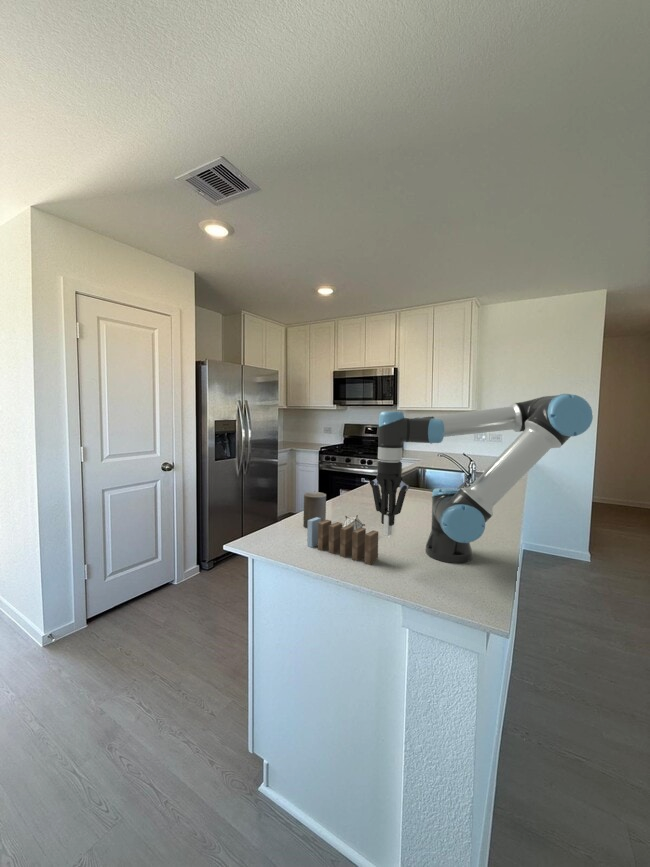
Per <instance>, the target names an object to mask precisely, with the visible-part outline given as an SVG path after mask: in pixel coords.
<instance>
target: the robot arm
mask: <svg viewBox="0 0 650 867" xmlns="http://www.w3.org/2000/svg"><path fill="white" fill-rule="evenodd" d="M404 414H405V413H404V412H403V411H392V410H390V411H386V410H384V411H381V412H380V413H379V417H378V418H379V419H378V435H377V436H378V441H377V442H378V443H377V444H378V447H377V459H378V461H377V468H376V469H377V475H376V476H375V477H376V478H375V479H373V480H369V485H370V487H371V490H372V494H373V495H372V496H373V501H374V508H375V510H376V512H378V513H380V514H381V518H380V519H381V521H380V523H381V524H382V525H383V528H382V529H383V532H382V533H383V536H384V537H390V536H391V535H392V530H393V526H394V525H395V517H396V516H397V515H399V514H401V512H402V509H403V505H404V502H405V498H406V495H407V491H408V490H409V489H410V485H409V484H406V483H405V482H404V481H403V477H402V472H403V462H402V460H403V446H404V445H403V443H417V444H419V443H421V444H430V445H431V444H441V443H442V442H443V440H444V438H446V437H455V436H456V437H457V436H464V435H475V434H482V433H485V434H486V433H493V432H501V431H503V432H504V431H511V430H513V431H514V432H515V433H518V432H519V433H520V432H521V433H520V434H519V435H518V436H517V437H516V438H515V439H514V441H512V442H511V444H509V445H508V447H507V448H505V449H504V451H503V452H502V453H501V454H500V455H499V456H498V457H497V458H496V459H495V460H494V461H493V462H492V464H490V465H489V466H488V467H487V469H485V471H484V472H482V473H481V475H480V476H479V477H477V478H476V479H475V481H473V483H472V484H471V485H470V486H469V487H461V488H453V487H436V488H434V489H432V495H431V499H432V500H431V502H432V503H431V530H430V534H429V536H428V538H427V542H426V545H425V553H426V555H427V556H429V557H430V558H432V559H434V560H436V561H441V562H445V563H450V564H451V563H452V564H453V563H454V564H455V563H456V564H460V563H467V562H469V561H471V560H472V557H473V551H472V547H471V544H470V543H473V542H475V541H477V540H478V539H479V538H481V537H482V536H483V534H484V532H485V530H486V523H487V522H488V520H490V518H492V517H493V514H494V512H493V508H494V506H495V505H496V504H497V503H499V501H500V500H502V499H503V497H505V495H506V494H507V493H508V492H509V491H510V490H512V489H513V487H514V486H515V485H516V484H517V483H518V482H520V480H521V479H522V478H523V477H524V476H525V475H526V474H527V473H528V472H529V471H530V470H531V469H532V468H533V467H534V466H535V465H537V463H538V462H539V461H540V460H541V459H542V458H543V457H544V456H545V455H546V454H547V453H548V452H549V451H550V450H551V449H556V448H561V447H562V446H563V445H564V444H565V443H566V442H567V441H568V440H569V439H570V438H571V437H577V436H580V435H583V434H584V433H585V432H586V431H587V430H588V429H589V428H590V426H591V425H592V423H593V418H594V415H593V409H592V407H591V405H590V404H589V402H588V401H587V400H586V399H584V398H583V397H581V396H579V395H576V394H571V393H560V394H557V395H547V396H545V395H544V396H541V397H537V398H533V399H529V400H525V401H524V400H523V401H521V402H512V403H511V405H510V406H506V407H496V408H489V409H480V410H472V411H464V412H457V413H450V414H449V413H448V414H447V413H446V414H440V415H433V416H426V417H425V416H423V417H411V418H410V417H409V418H407V417H405V415H404ZM398 488H399V489H400V490H399V492H398ZM397 492H398V496H397Z"/></svg>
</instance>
